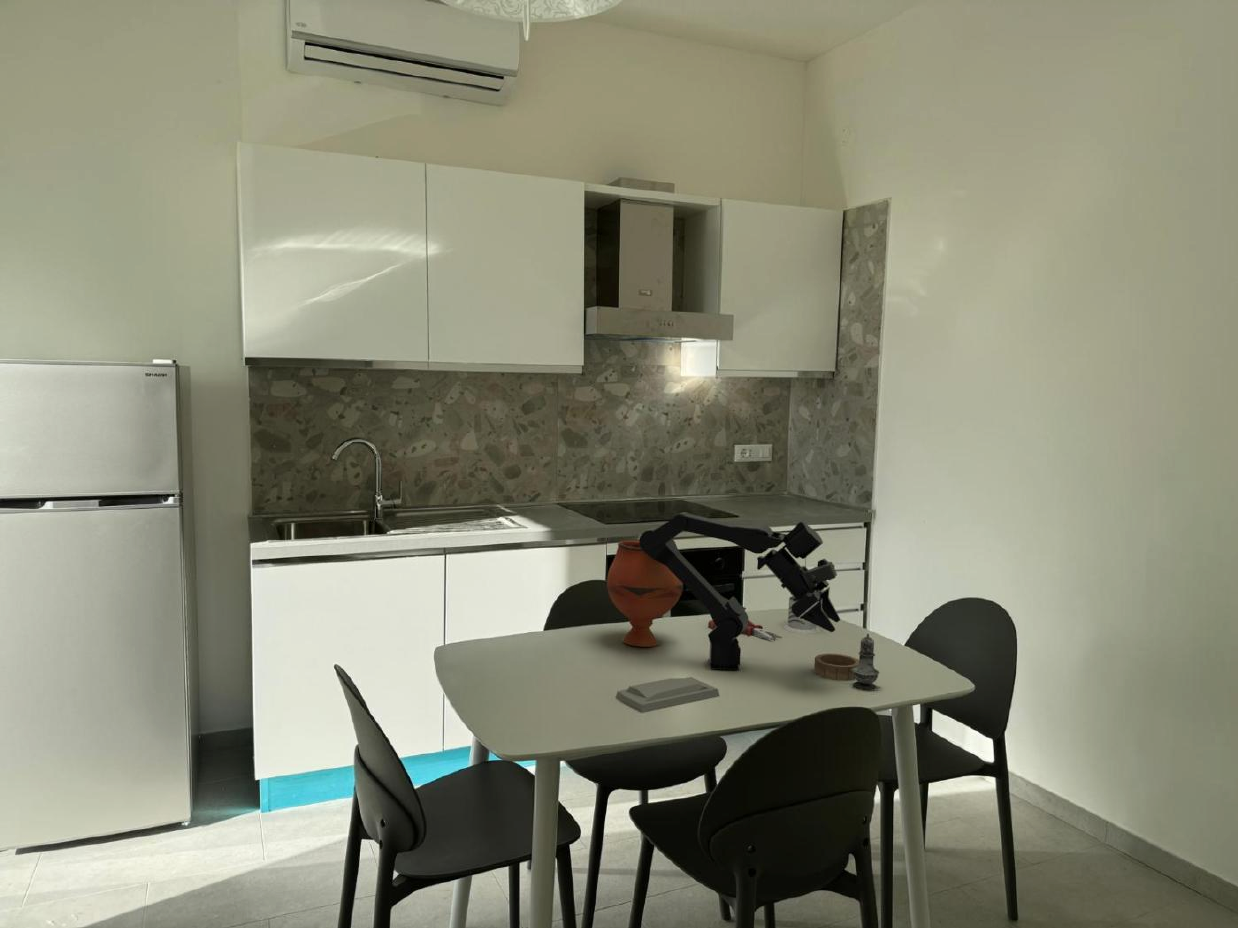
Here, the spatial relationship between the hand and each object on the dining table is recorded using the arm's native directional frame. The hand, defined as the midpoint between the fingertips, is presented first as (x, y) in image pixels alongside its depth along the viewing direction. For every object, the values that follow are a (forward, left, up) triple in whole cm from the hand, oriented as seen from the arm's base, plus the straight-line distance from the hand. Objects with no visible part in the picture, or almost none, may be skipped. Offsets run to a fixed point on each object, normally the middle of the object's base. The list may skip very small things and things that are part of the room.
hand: (836, 625), depth 199 cm
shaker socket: (+2, +7, -13) cm, 15 cm away
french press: (+2, +44, -13) cm, 46 cm away
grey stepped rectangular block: (-38, -13, -14) cm, 42 cm away
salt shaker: (+6, -2, -13) cm, 15 cm away
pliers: (-15, +38, -13) cm, 43 cm away
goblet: (-43, +24, -13) cm, 51 cm away
